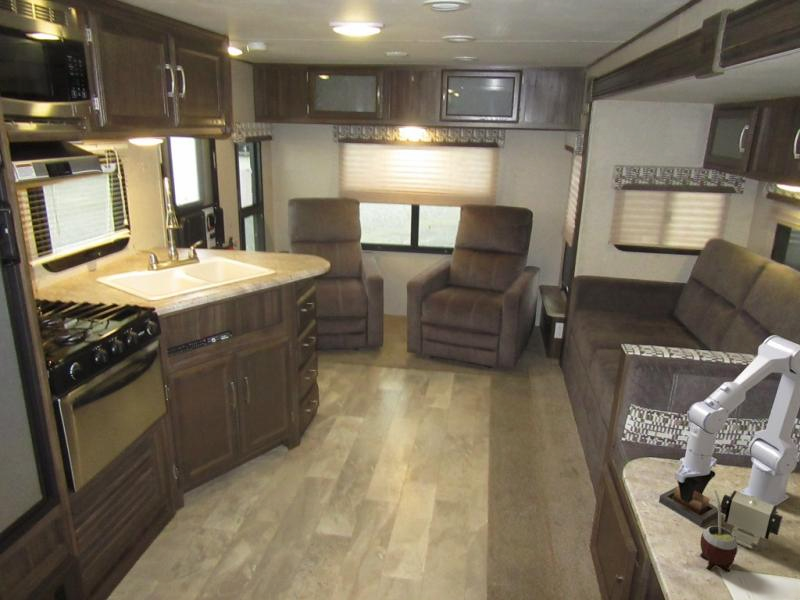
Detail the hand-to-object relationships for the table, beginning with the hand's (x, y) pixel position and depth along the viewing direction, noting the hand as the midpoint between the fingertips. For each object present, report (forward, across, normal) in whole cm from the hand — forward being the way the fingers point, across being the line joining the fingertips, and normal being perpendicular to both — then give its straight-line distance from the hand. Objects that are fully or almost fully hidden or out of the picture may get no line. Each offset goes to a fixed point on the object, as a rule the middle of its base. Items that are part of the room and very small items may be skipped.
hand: (690, 497), depth 145 cm
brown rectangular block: (+4, 0, 0) cm, 4 cm away
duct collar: (+3, 0, 0) cm, 3 cm away
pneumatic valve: (+4, 0, +14) cm, 14 cm away
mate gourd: (+4, +13, +14) cm, 19 cm away
